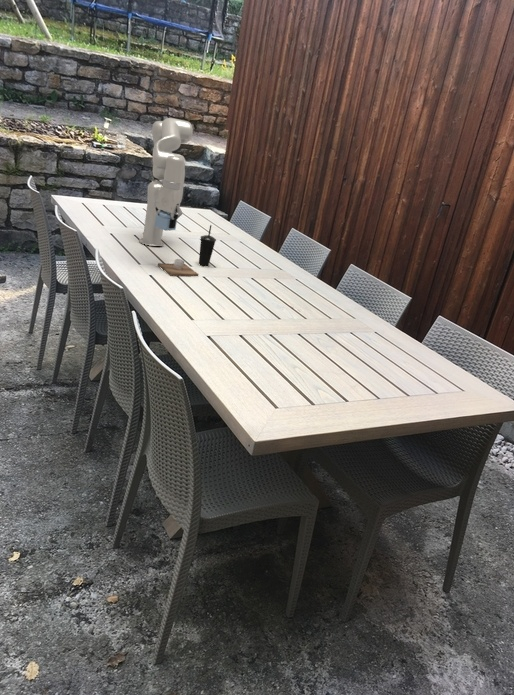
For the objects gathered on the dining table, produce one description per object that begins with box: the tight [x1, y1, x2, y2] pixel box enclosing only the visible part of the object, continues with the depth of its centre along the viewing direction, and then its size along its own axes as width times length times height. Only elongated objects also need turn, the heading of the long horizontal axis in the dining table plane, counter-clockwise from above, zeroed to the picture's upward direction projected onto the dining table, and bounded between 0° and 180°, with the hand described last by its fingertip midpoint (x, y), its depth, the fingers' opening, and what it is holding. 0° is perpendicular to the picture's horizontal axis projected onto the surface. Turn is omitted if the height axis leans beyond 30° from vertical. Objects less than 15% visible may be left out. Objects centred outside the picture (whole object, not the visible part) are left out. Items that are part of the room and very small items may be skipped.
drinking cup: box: [198, 224, 217, 267], centre depth 283 cm, size 8×8×20 cm
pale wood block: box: [173, 258, 185, 270], centre depth 268 cm, size 3×3×4 cm
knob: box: [155, 211, 178, 232], centre depth 260 cm, size 7×7×7 cm
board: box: [157, 262, 199, 277], centre depth 269 cm, size 14×14×1 cm
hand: (165, 225), depth 261 cm, fingers closed on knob, 6 cm apart
